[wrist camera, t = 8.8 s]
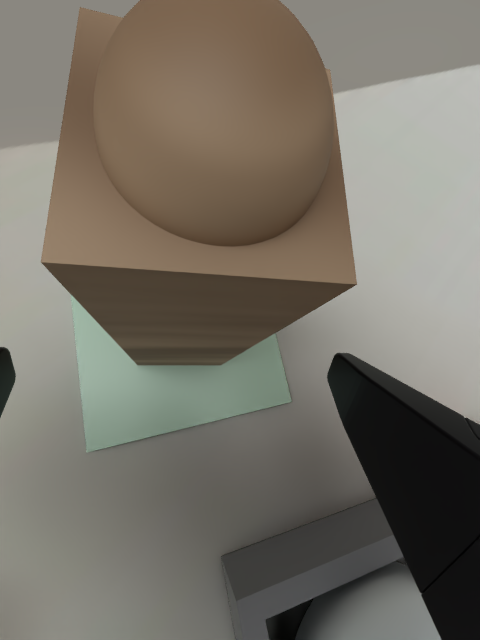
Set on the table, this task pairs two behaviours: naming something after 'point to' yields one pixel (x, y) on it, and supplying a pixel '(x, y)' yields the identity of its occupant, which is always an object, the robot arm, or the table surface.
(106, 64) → the brown post with ball
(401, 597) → the dome
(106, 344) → the pad
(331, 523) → the grey square tray
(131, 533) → the table surface
